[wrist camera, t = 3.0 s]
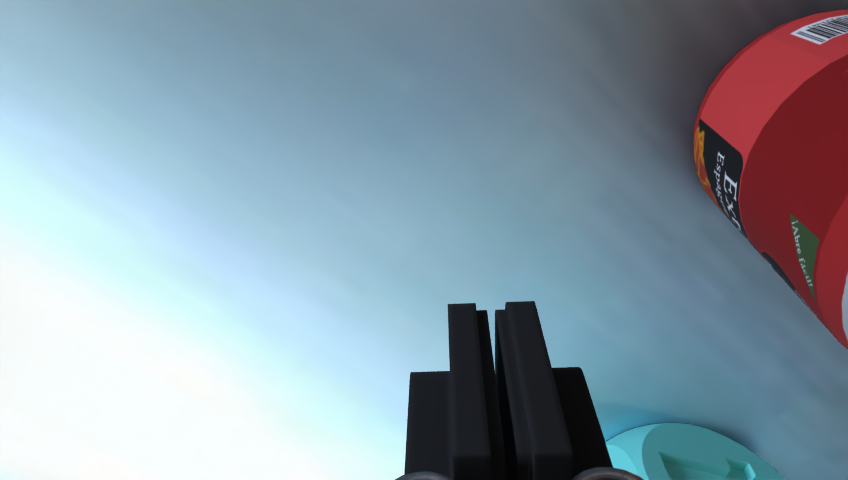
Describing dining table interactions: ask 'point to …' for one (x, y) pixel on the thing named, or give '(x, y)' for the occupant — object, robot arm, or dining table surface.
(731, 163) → the canned food
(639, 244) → the dining table surface
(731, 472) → the decorative dice
